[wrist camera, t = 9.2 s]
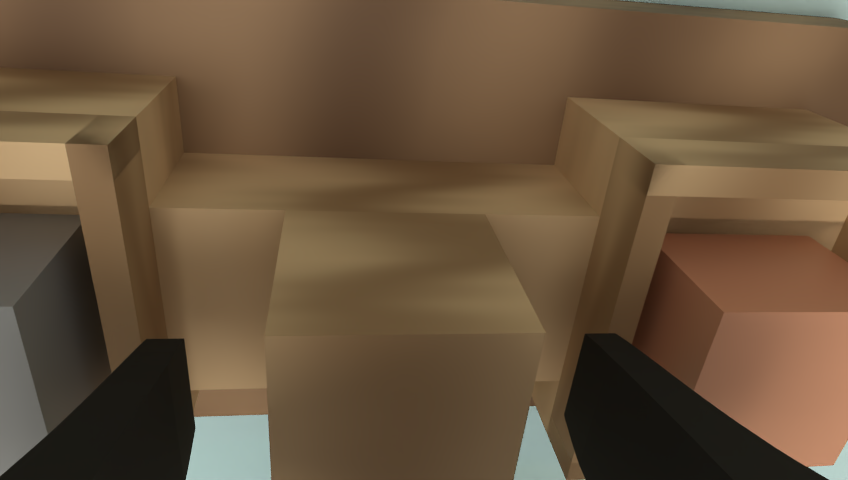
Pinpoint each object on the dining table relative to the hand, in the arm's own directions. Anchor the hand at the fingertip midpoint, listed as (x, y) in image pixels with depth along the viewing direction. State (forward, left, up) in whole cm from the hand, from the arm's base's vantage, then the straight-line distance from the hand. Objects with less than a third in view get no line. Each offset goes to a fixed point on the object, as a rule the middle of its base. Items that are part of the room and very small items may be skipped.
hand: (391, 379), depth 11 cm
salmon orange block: (-6, -5, -2) cm, 8 cm away
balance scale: (0, 0, -5) cm, 5 cm away
